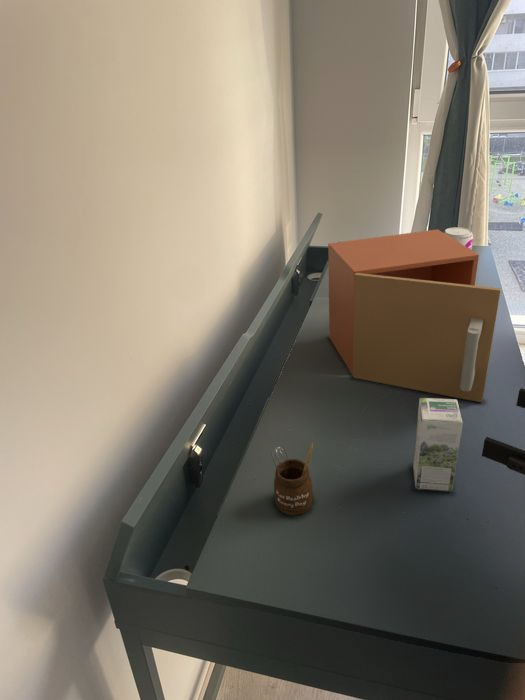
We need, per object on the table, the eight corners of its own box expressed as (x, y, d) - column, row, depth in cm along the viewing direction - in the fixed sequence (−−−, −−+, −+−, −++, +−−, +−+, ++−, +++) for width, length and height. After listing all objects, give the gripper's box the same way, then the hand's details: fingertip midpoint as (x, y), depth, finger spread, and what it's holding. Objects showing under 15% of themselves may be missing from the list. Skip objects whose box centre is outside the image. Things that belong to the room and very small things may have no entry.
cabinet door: (477, 420, 98) (496, 304, 86) (343, 392, 109) (344, 286, 97) (482, 399, 103) (501, 288, 91) (354, 375, 114) (356, 272, 102)
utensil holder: (276, 488, 87) (271, 431, 81) (315, 489, 86) (313, 431, 80) (273, 516, 82) (268, 457, 76) (314, 517, 81) (312, 457, 75)
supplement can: (472, 279, 154) (479, 229, 146) (459, 289, 149) (465, 237, 141) (446, 273, 159) (451, 225, 151) (432, 282, 154) (437, 232, 146)
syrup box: (448, 468, 88) (457, 396, 81) (452, 494, 83) (463, 420, 76) (412, 465, 89) (419, 395, 82) (415, 491, 84) (422, 418, 77)
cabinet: (464, 357, 117) (479, 254, 105) (352, 375, 114) (354, 271, 102) (429, 322, 133) (437, 229, 121) (329, 337, 130) (328, 243, 118)
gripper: (666, 582, 54) (463, 493, 67) (694, 451, 70) (526, 399, 83) (691, 531, 50) (470, 447, 63) (714, 405, 67) (535, 358, 79)
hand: (502, 420), depth 73 cm, fingers open, 13 cm apart
